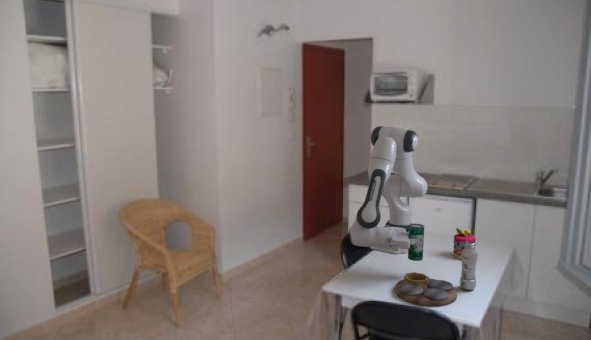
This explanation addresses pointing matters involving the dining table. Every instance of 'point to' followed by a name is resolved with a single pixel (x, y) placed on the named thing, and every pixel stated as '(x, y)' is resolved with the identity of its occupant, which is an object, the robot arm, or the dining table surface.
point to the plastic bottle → (468, 266)
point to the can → (416, 249)
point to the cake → (461, 242)
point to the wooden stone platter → (425, 290)
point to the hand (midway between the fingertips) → (418, 238)
